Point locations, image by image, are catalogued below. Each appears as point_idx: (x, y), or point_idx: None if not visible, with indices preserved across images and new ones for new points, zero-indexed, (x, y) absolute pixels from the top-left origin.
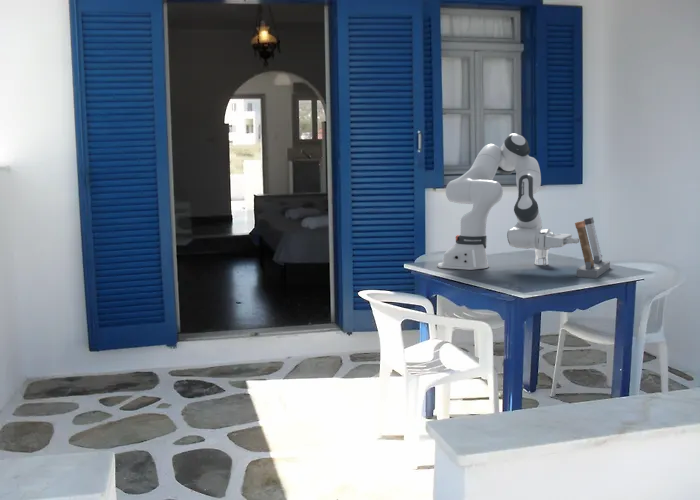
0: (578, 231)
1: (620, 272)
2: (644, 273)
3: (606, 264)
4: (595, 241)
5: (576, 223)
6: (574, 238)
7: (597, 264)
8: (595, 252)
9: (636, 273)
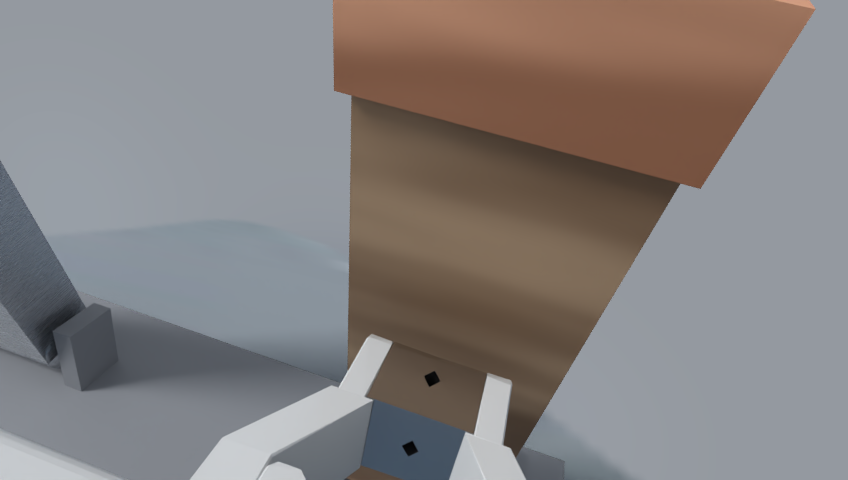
0: (641, 227)
1: (243, 304)
2: (289, 232)
3: (144, 318)
4: (10, 178)
5: (782, 22)
6: (369, 398)
7: (164, 379)
8: (40, 290)
9: (289, 255)
